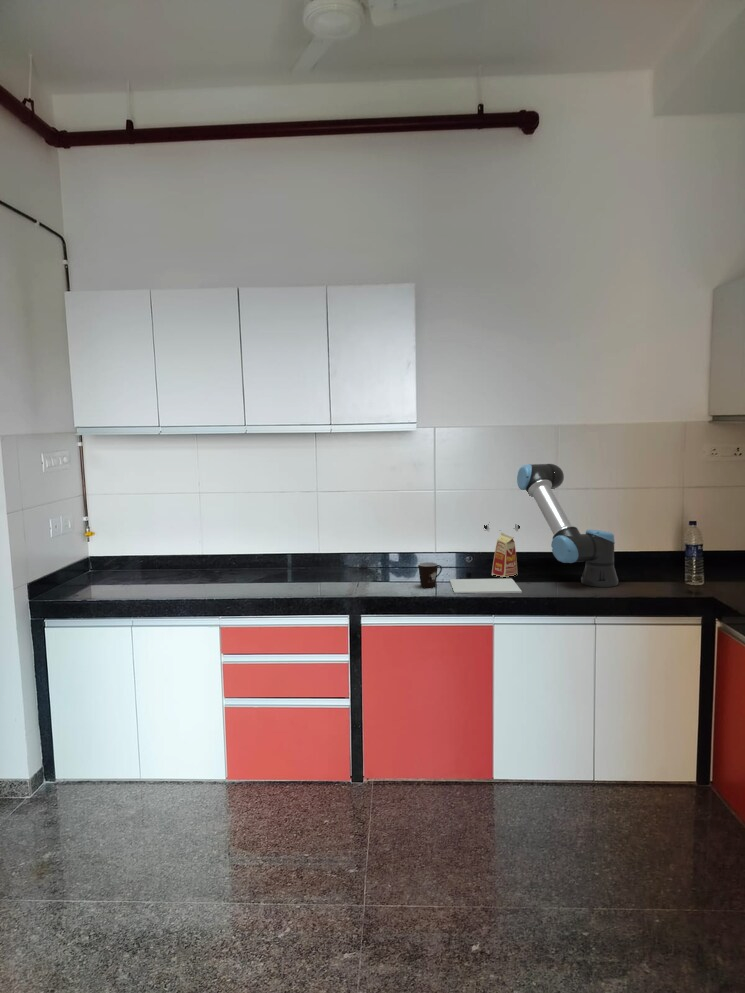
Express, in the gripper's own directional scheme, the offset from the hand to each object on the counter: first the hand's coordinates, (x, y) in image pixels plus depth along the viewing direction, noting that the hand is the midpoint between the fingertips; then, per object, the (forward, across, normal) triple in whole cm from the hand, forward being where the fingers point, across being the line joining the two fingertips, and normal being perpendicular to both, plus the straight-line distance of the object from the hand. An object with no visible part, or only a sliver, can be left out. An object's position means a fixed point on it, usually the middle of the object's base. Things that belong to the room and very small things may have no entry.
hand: (502, 528), depth 308 cm
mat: (+33, +11, -20) cm, 40 cm away
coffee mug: (+33, +34, -20) cm, 51 cm away
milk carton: (+10, 0, -21) cm, 23 cm away
